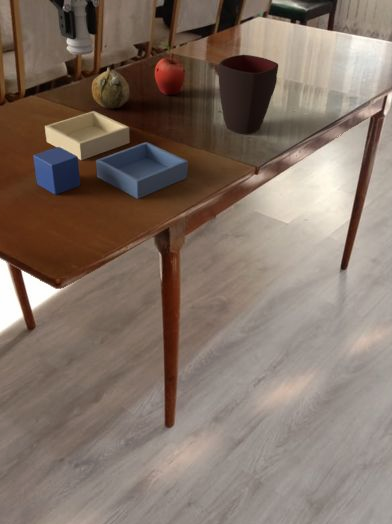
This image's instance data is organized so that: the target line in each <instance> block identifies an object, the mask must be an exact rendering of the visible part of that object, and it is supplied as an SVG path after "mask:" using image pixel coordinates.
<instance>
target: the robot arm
mask: <svg viewBox="0 0 392 524" xmlns="http://www.w3.org/2000/svg"><path fill="white" fill-rule="evenodd" d="M48 1H49V2H50V3H51V4H52V5H53V7H54V8H55V9H57V16H58V25H59V27H58V28H59V31H60V35H61V36H62V37H64V38H67V39H68V38H69V39H72V40H73V39H75V38H76V28H75V15H74V11H71V10H70V9H71V0H48ZM85 1H86V2H87V5H86V7H85V12H86V13H87V14H86V24H87V29H88V32H89V34H90V35H92V36H95V35H97V34H98V29H97V28H98V27H97V26H98V21H97V20H98V19H97V7H98V6H99V5H100V0H85Z"/></svg>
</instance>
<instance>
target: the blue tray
mask: <svg viewBox="0 0 392 524" xmlns="http://www.w3.org/2000/svg"><path fill="white" fill-rule="evenodd" d="M188 163H189V161H188V160H187V159H184V158H182V157H180V156H178V155H176V154H174V153H171V152H169V151H167V150H164V149H162V148H160V147H158V146H156V145H155V144H152V143H150V142H148V141H145V142H142V143H140V144H136V145H134V146H131V147H128V148H126V149H123V150H120V151H118V152H114V153H112V154H110V155H107V156H103V157H100V158H98V159H96V160H95V166H96V178H98V179H100V180H101V181H103V182H105V183H107V184H110V185H111V186H113V187H114V188H117V189H119V190H121V191H122V192H124V193H126V194H127V195H129V196H131V197H134V198H135V199H137V200H138V199H141V198H143V197H146V196H148V195H149V194H152V193H155V192H157V191H159V190H162V189H164V188H166V187H169V186H172V185H174V184H176V183H178V182H181V181H183V180H185V179H188V165H189V164H188Z"/></svg>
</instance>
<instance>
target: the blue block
mask: <svg viewBox="0 0 392 524" xmlns="http://www.w3.org/2000/svg"><path fill="white" fill-rule="evenodd" d="M32 158H33V164H34V170H35V179H36V184H37V185H38V186H39V187H41V188H43V189H45V190H46V191H48V192H49V193H51V194H53V195H55V196H57V195H60V194H62V193H65V192H67V191H69V190H70V191H71V190H72V189H75V188H77V187H80V186H81V177H80V166H79V159H78V156H76V155H74V154H72V153H70V152H68V151H66V150H64V149H62V148H60V147H53V148H50V149H47V150H44V151H42V152H38V153H36V154H33V155H32Z"/></svg>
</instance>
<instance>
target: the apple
mask: <svg viewBox="0 0 392 524" xmlns="http://www.w3.org/2000/svg"><path fill="white" fill-rule="evenodd" d="M156 44H157V45H164V47H165V48H166V49H167V52H169V55H170V57H163V58H161V59H160V60H159V61H158V62H157V64H156V66H155V68H154V79H155V82H156V85H157V88H158V89H159V91H160V92H161V94H163V95H165V96H174V95H178V94H179V93H180V91H181V89H182V86H183V85H184V82H185V73H186V72H185V67H184V65H183V64H182V62H180V61H179V60H178V59H176V58H173V57H174V55H175V53H174V52H173V51H171V49H170V45H169V44H168V43H165V42H163V41H157V42H156Z"/></svg>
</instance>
